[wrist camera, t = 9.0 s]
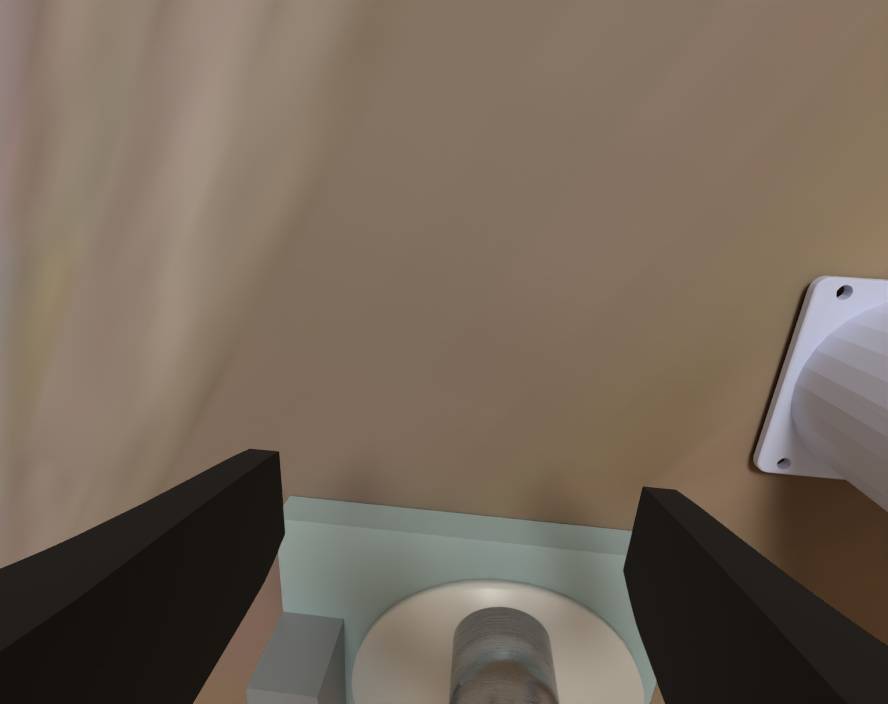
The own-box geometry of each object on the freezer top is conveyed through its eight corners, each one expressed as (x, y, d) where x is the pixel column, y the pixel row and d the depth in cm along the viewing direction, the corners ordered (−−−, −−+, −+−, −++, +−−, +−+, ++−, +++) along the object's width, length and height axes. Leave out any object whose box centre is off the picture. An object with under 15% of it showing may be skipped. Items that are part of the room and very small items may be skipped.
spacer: (540, 600, 19) (558, 729, 15) (558, 673, 21) (581, 813, 16) (442, 613, 20) (429, 740, 15) (466, 682, 21) (461, 819, 17)
